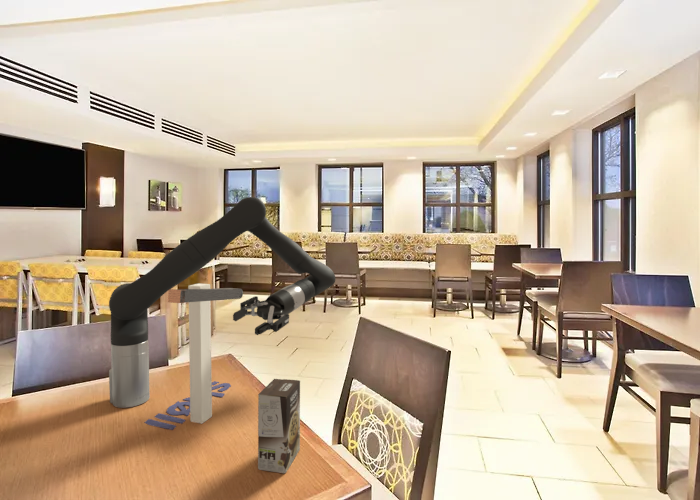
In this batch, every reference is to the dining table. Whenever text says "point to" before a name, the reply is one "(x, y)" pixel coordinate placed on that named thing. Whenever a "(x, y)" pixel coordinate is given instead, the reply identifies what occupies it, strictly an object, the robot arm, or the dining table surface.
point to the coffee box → (278, 425)
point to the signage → (182, 409)
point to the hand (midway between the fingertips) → (244, 324)
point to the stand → (200, 358)
